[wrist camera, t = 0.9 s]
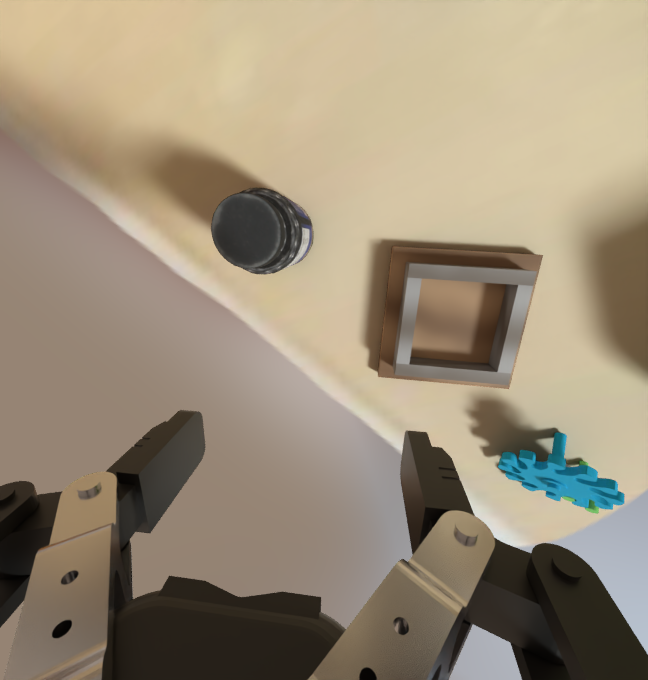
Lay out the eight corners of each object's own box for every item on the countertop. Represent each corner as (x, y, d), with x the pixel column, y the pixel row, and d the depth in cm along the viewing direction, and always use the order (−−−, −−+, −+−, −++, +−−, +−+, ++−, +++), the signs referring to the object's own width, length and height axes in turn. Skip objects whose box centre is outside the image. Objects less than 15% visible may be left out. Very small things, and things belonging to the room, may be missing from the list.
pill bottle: (242, 216, 31) (182, 203, 20) (299, 188, 30) (266, 160, 19) (269, 276, 32) (226, 292, 22) (324, 252, 31) (307, 258, 21)
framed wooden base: (392, 246, 30) (396, 246, 27) (535, 254, 29) (557, 256, 26) (377, 372, 34) (379, 386, 31) (503, 383, 33) (519, 399, 30)
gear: (476, 459, 34) (584, 470, 26) (488, 411, 37) (590, 407, 28) (537, 507, 37) (653, 532, 28) (544, 459, 40) (653, 468, 31)
